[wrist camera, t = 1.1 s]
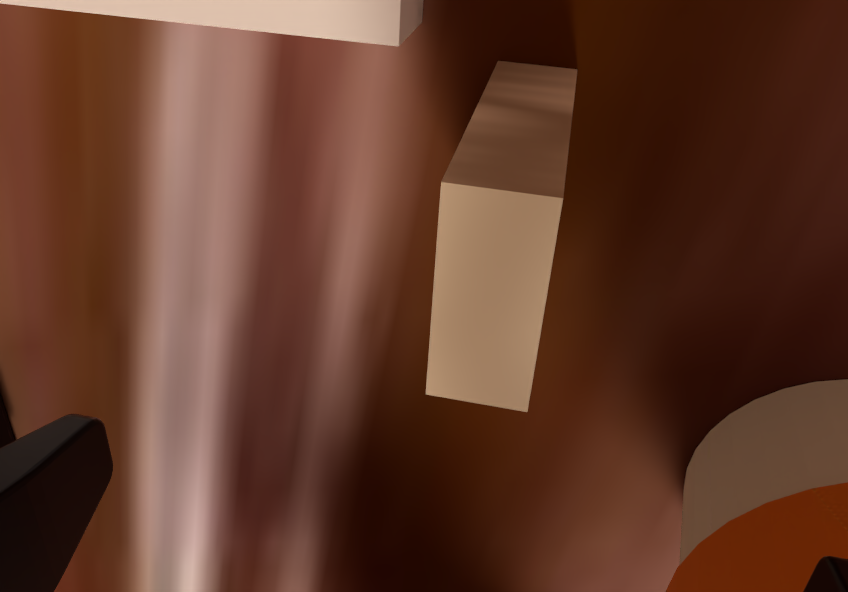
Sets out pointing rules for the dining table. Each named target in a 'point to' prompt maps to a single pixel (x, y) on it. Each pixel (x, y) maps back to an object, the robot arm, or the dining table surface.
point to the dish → (268, 15)
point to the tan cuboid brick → (500, 237)
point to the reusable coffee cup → (767, 494)
